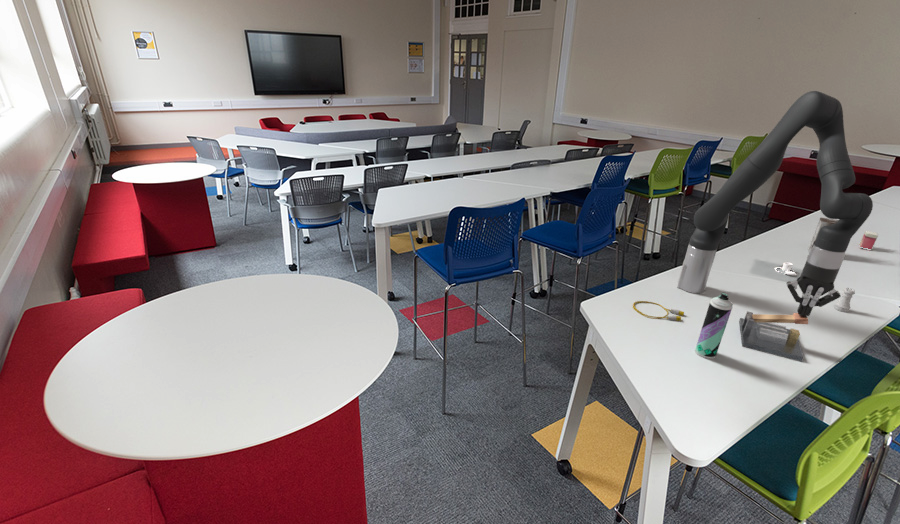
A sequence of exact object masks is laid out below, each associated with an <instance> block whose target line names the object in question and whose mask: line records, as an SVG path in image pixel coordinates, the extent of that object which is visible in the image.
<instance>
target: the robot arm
mask: <svg viewBox="0 0 900 524" xmlns="http://www.w3.org/2000/svg"><path fill="white" fill-rule="evenodd" d="M804 127H807V128H810V129H812V130H813V131H814V133H815V135H816V137H817V139H818V142H819V149H818V152H817V155H816V169H817V172H818V176H819V180H820V183H821V187H820V188H821V190H820V191H821V193H820V199H819V207H820V208H819V209H820V211H821V214H822V215H823V216H824V217H825V218H827V219H834V220H838V221H837V222H836V223H834V224H831V225H826V226H823V227H822V228H821V229H820V230H819V233H818V235H817V238H816V240H815V243H814V245H813V247H812V249H811V251H810V253H809V252H808V255H807V258H806V261H805V264H804V267H803V269H802V271H801V274H800V276H799V277H798V278H796V280H795V281H792V282H791V281H787V282H786V286H787V289H788V290H789V292H790V294H791V296H792V297H793V300H794V301H795V303H799V305H798V307H797V312H796V313H798V314H799V316H801V317H807V318H808V317H810V315H811V312H812V310H813V309H814V308H815V307H819V308H821V307H823V306H825V305H828V304H830V303H831V302H833V301H836V300H838V299H839V298H841V297H842V296H841V293H840V292H839V290H836V289H835V284H834V283H835V281H836V279H837V276H838V275H839V271H840V269H841V267H842V264H843V262H844V261H845V255H846V252H847V250H848V246H849V244H850V242H851V239H852V238H853V237H854V235H855V234H856V233H857V232H858V231H859V229H860V228H861V227H862V226H863V225H864V223H865V222H866V221H867V220H868V218H869V216H870V215H871V214H872V211H873V207H874V203H873V200H872V197H871V196H869V194H866V193H860V192H844V191H843V190H845V189H849V188H850V187H852V185H854V184H855V183H856V175H855V171H854V168H853V164H852V162H851V159H850V155H849V153H848V149H847V148H848V147H847V144H846V135H845V134H846V133H845V124H844V110H843V106H842V103H841V101H840V100H838V99H837V98H835V97H833V96H830V94H829V95H828V94H826V93H824V92H821V91H817V90H811V91H810V90H809V91H807V92H805V93H804V94H802V95H801V96H800V97H798V98H797V99H796V100H795V101H794V102H793V103H792V104H791V106H790V107H789V108H788V109H787V110H786V112H785V113H784V114H783V116H782V117H781V119H780V120H779V121H778V122H777V123H776V124H775V126H774V128H772V130H771V131H770V132H769V133H768V135H766V136H765V138H764V139H763V140H762V141H761V143H760V144H758V146H757V147H756V148H755V149H754V150H753V151H752V152H751V153H750V154H749V155H748V156H747V157H746V158H745V159H744V160H743V161H742V162H741V164H740V165H739V166H738V167H737V168H736V169H735V171H733V173H732V174H731V175H730V176H729V178H727V180H726V181H725V182H724V184H723V185H722V187H721V188H719V190H718V191H717V192H716V193H715V194H714V195H713V196H712V197H711V198H710V199H708V200H707V201H706V202H705V203H704V204H703V205H701V206H700V207H699V208H698V209H697V210H696V211H695V213H694V215H693V224H694V226H695V230H694V231H693V232H692V233H693V234H692V235H691V236H690V238H689V242H688V246H687V250H686V253H685V257H684V260H683V262H682V266H681V270H680V273H679V277H678V281H677V288H678V289H680V290H683V291H685V292H689V293H691V294H702V293H704V292H705V290H706V287H707V283H708V280H709V277H710V273H711V271H712V268H713V263H714V261H715V258H716V254H717V252H718V251H717V250H718V248H719V245H720V243H721V241H722V238H723V237H724V233H725V230H726V228H727V224H728V222H729V217H730V213H731V212H732V211H733V210H734V209H735V207H736V206H738V205H739V204H740V203H741V202H742V201H744V200H745V199H746V198H748V197H749V196H751V195H753V193H754V192H756V191H757V190H758V189H759V188H761V187H762V186H763V185H764V184H765V183H766V182H767V181H769V179H770V178H771V177H772V176H774V174H775V173H776V172H777V171H778V170H779V169H780V167H781V165H782V163H783V160H784V156H785V154H786V152H787V148H788V146H789V145H790V143H791V141H792V140H793V139H794V137H796V135H797V134H798V133H799V132H800V131H802V129H803V128H804ZM798 287H799V289H800V291H801V292H802V293H801V296H799V294H798V293H797V289H798Z"/></svg>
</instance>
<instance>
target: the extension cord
mask: <svg viewBox="0 0 900 524" xmlns="http://www.w3.org/2000/svg"><path fill="white" fill-rule="evenodd" d="M641 303H643V304H645V303H647V304H652V305H657V306H660V307H661V308H662V309H664V310H665V311H666V315H664V316H652V315H647V314H646V313H643V312H642V311H640V310H639V309H637V308H636V306H635V305H637V304H641ZM632 309H633V310H634V311H636V312H637V313H638V314H639V315H641V316H643V317H645V318H648V319H652V320H659V319H660V320H661V319H666V320H668V321H674V322H675V321H676V322H681V321H682V317H684V316H685V315H684V314H685V311H682V310H680V309H674V308H671V309H668V308H665V307H664V306H663V305H661V304H659V303H657V302H653V301H647V300H637V301H635V302H633V305H632ZM669 312H670V313H672V314H674V315H669Z"/></svg>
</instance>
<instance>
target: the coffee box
mask: <svg viewBox="0 0 900 524" xmlns="http://www.w3.org/2000/svg"><path fill="white" fill-rule="evenodd" d="M838 220H839V219H830V218H827V217H820V218H819V220H818V222H817V225H816V227H815V230H814V232H813V236H812V238H811V240H810V244H809V246H808V248H807V250H808V251H809V252H808V251H807V252H808V254H809V253H810V251H811V249H812V247H813V245H814V243H815V240H816V238H817V235H818V233H819V230H820V229H821V228H822V227H823V226H826V225H831V224H834V223H836V222H837V221H838Z"/></svg>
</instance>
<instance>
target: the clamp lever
mask: <svg viewBox="0 0 900 524" xmlns="http://www.w3.org/2000/svg"><path fill="white" fill-rule="evenodd" d="M745 315H746V314H745ZM746 318H747V320H748V319H753V320H754V322H768V323H774V324H779V323H780V324H795V325H808V324H809V318H808V316H807V317H801V316H799V314H798V312H793V313H792V314H763V313H762V314H761V313H758V314H757V313H756V314H755V313H753V314H751V313H748V314H747V315H746Z"/></svg>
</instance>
